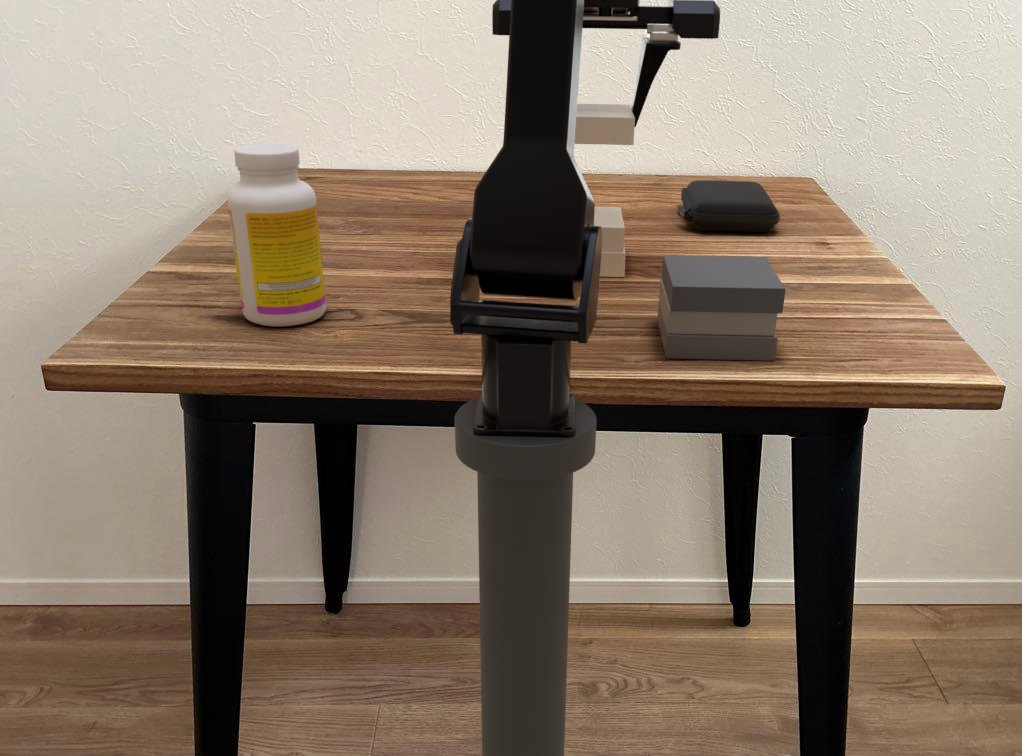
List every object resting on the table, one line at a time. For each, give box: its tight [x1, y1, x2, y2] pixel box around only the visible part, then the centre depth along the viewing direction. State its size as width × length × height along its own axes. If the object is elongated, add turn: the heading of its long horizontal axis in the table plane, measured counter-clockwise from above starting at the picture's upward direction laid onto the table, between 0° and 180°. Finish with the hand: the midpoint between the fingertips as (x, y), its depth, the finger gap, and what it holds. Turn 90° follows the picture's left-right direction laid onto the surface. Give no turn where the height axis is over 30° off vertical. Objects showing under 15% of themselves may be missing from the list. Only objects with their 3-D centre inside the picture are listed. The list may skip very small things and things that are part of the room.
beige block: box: [594, 206, 627, 278], centre depth 99 cm, size 9×6×4 cm
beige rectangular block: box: [574, 103, 635, 146], centre depth 93 cm, size 8×6×2 cm
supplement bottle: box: [226, 143, 327, 328], centre depth 82 cm, size 7×7×13 cm
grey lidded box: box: [656, 254, 787, 362], centre depth 80 cm, size 9×8×5 cm
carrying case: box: [676, 179, 781, 233], centre depth 116 cm, size 11×3×15 cm
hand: (600, 126), depth 93 cm, fingers closed on beige rectangular block, 5 cm apart
